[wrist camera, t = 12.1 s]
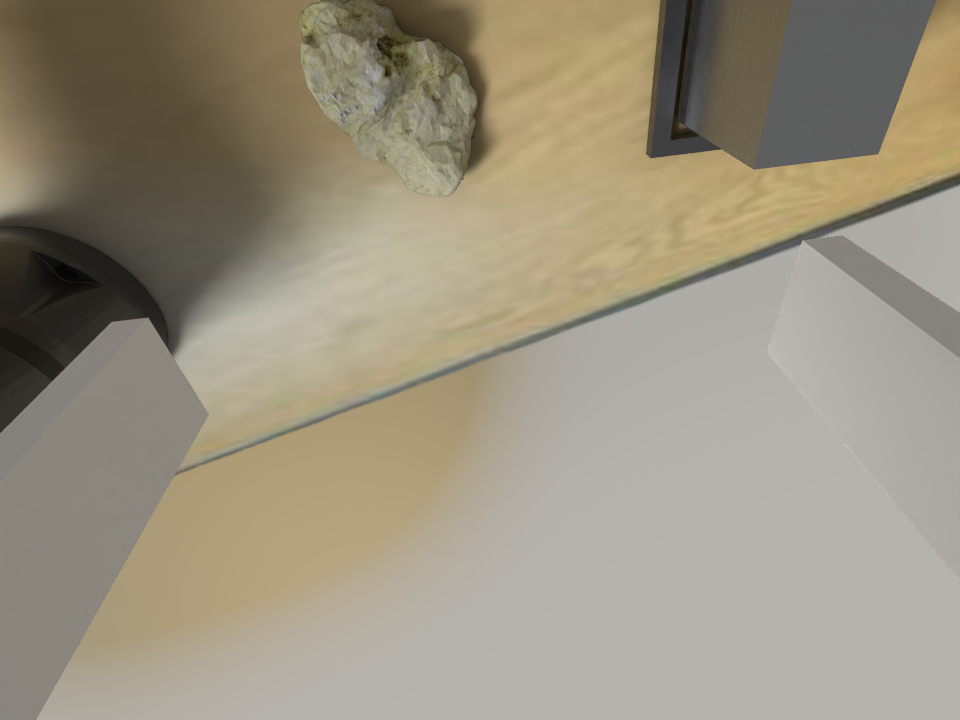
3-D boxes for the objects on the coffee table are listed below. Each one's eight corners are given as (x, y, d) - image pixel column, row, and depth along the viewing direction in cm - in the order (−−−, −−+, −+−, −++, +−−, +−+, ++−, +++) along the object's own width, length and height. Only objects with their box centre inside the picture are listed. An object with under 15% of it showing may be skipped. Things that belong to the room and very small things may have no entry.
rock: (461, 184, 36) (499, 30, 29) (457, 230, 32) (500, 63, 25) (312, 146, 34) (314, -28, 27) (286, 190, 30) (280, -3, 23)
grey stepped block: (676, 120, 33) (753, 169, 24) (697, -45, 27) (804, -56, 19) (768, 108, 32) (878, 154, 24) (807, -60, 27) (964, -77, 19)
